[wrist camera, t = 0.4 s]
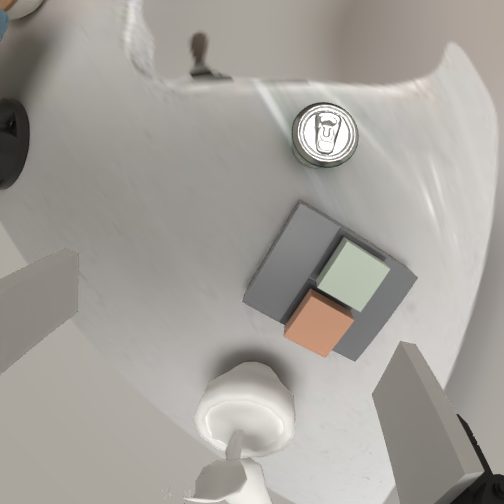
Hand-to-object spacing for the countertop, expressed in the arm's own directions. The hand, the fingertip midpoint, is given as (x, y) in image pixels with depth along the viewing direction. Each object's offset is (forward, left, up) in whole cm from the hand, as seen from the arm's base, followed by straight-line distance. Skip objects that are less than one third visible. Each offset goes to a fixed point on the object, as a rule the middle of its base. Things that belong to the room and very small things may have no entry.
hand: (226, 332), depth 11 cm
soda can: (0, +10, -25) cm, 27 cm away
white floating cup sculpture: (+9, -20, -25) cm, 33 cm away
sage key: (+9, +1, -19) cm, 21 cm away
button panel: (+9, -2, -25) cm, 26 cm away
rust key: (+9, -5, -19) cm, 22 cm away
